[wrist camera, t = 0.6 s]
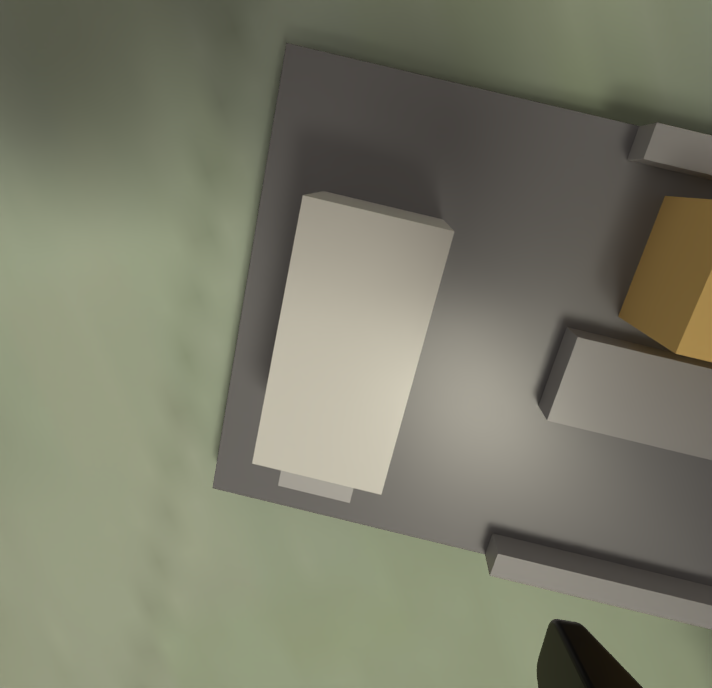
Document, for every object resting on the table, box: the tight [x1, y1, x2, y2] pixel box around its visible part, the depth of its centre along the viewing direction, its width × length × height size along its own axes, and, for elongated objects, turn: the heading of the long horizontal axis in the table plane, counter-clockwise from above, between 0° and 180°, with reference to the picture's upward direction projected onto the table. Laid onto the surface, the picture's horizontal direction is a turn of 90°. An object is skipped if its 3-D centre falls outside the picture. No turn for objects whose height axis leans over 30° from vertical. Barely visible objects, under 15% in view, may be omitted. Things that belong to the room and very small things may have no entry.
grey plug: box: [252, 191, 454, 503], centre depth 17 cm, size 4×9×4 cm, turn 167°
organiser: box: [213, 43, 712, 629], centre depth 19 cm, size 23×16×3 cm
